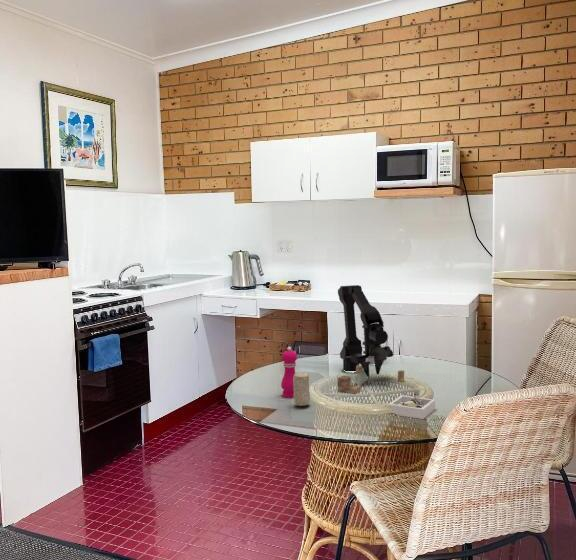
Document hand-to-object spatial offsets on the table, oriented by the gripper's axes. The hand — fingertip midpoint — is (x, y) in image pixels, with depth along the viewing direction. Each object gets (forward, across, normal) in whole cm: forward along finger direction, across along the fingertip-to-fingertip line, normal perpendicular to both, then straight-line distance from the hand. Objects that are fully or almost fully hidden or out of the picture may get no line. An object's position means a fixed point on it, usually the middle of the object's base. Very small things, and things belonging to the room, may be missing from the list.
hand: (372, 375), depth 263 cm
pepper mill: (+2, -39, +4) cm, 39 cm away
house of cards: (+4, -7, -39) cm, 40 cm away
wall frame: (+4, +2, +7) cm, 8 cm away
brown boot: (+3, -16, -5) cm, 17 cm away
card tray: (+3, -12, -39) cm, 41 cm away
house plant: (+5, +22, +26) cm, 34 cm away
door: (+4, +2, +7) cm, 8 cm away
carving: (+2, -41, -10) cm, 42 cm away
